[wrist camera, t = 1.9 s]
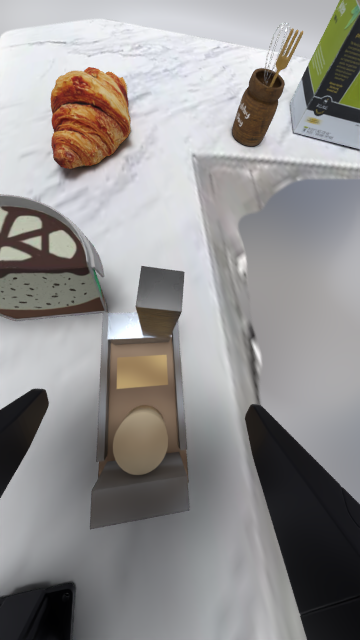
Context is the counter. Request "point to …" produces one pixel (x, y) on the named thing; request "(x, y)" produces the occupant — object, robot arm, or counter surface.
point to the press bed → (114, 404)
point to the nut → (141, 440)
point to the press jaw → (150, 309)
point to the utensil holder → (262, 98)
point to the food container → (45, 263)
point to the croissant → (88, 117)
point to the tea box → (332, 82)
